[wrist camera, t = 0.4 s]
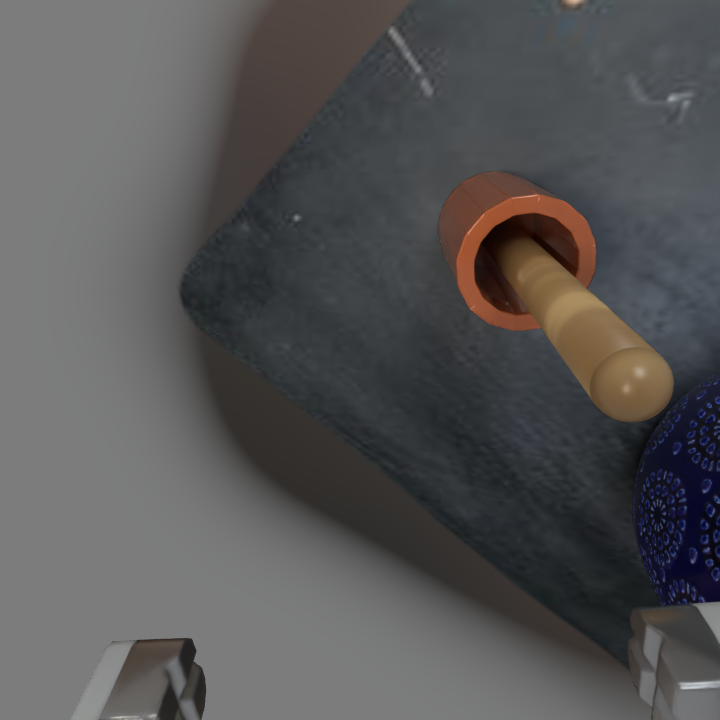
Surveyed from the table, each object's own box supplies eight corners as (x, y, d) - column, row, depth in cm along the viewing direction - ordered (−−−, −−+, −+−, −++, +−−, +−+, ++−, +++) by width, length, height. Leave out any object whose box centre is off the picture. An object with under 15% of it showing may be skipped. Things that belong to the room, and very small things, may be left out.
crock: (434, 178, 30) (452, 204, 22) (544, 164, 29) (598, 186, 22) (442, 282, 32) (461, 337, 25) (544, 270, 32) (595, 322, 24)
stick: (474, 212, 30) (604, 368, 13) (510, 208, 30) (693, 358, 12) (475, 248, 31) (601, 440, 13) (511, 243, 30) (685, 432, 13)
